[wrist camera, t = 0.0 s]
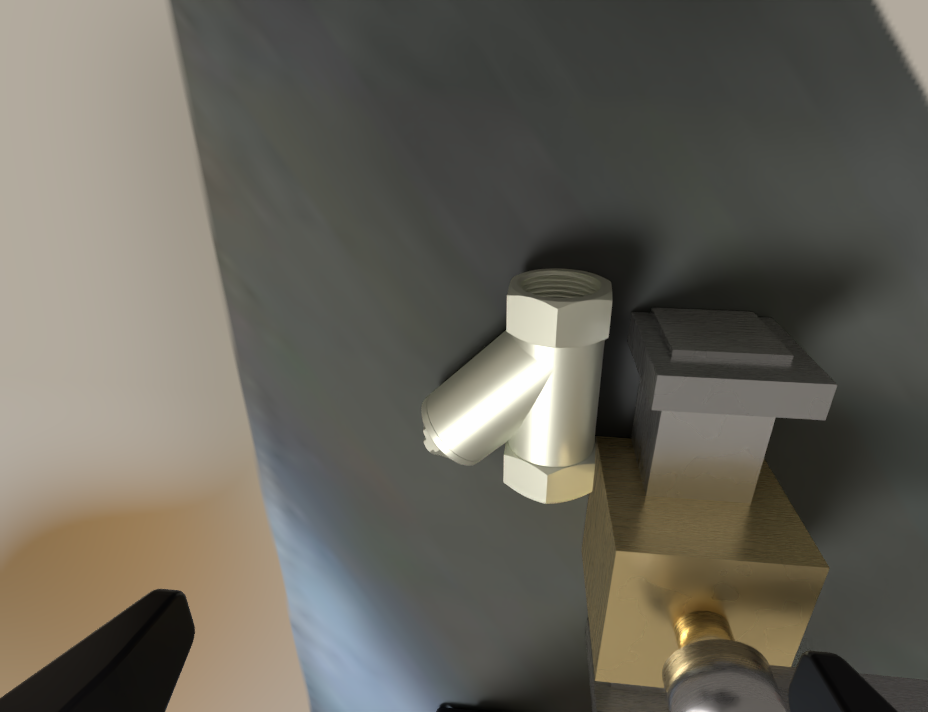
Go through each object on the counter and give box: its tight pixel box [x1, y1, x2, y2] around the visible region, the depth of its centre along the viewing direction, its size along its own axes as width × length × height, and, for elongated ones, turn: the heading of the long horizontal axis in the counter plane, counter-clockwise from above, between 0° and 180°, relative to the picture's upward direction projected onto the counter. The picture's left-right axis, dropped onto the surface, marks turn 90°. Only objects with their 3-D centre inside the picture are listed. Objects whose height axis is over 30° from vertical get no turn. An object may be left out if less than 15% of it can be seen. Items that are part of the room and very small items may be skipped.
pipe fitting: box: [421, 268, 612, 504], centre depth 21 cm, size 8×4×7 cm
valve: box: [582, 308, 837, 712], centre depth 21 cm, size 18×6×8 cm, turn 0°
